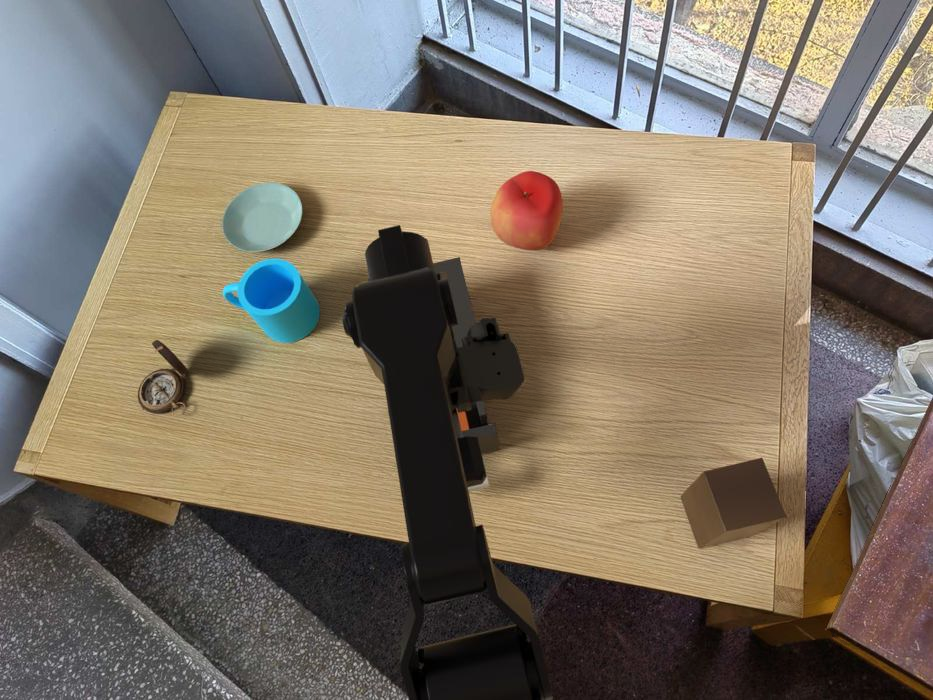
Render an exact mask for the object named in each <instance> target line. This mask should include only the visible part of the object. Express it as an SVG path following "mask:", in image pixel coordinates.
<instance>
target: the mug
mask: <svg viewBox="0 0 933 700" xmlns="http://www.w3.org/2000/svg"><path fill="white" fill-rule="evenodd" d="M234 292H237V295H235V294H233V293H234ZM222 296H223V298H224V300H225V301H227V302H228V303H229V304H231V305H233V306H235V307H237V308H239V309H242V310H244V311H246V313H247V314H248V315H249V316H250V317H251V318H252V319H253V321H254V322H255V323H256V324H257V325H258V326H259V328H260V329H261V330H262V331H263V332H264V333H265V335H266V336H267V337H269V339H272V340H273V341H275V342H279V343H283V344H286V343H290V344H291V343H294V342H295V343H296V342H297V341H301V340H303V339H304V338H306V337H307V336H309V335H310V334H311V333H312V332H313V330H315V328H316V327H317V324H318V322H319V321H320V313H321V308H320V304H319V302H318V300H317V299H316V297H315V295H314V294H313V292H312V291H311V289H310V288H309V286H308V284H307V282H306V281H305V280H304V278H303V277H302V275H301V273H300V272H299V271H298V268H297V267H296V266H295V265H294V264H293V263H291V262H290V261H288V260H285V259H281V258H267V259H264V260H261V261H258V262H255V264H253V265H251V266H249V268H248V269H246V271H245V272H244V273H243V274H242V276H241V278H240V280H239V282H232V283H229V284H227V285H225V286H224V287H223V290H222Z"/></svg>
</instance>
